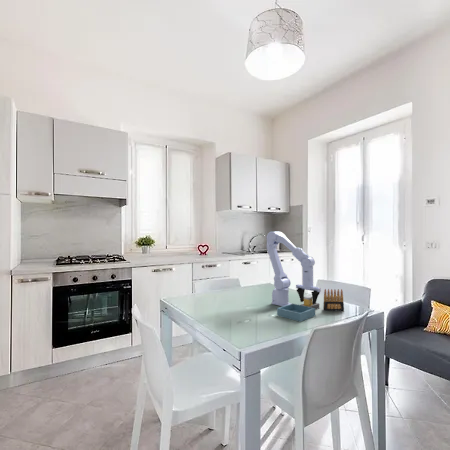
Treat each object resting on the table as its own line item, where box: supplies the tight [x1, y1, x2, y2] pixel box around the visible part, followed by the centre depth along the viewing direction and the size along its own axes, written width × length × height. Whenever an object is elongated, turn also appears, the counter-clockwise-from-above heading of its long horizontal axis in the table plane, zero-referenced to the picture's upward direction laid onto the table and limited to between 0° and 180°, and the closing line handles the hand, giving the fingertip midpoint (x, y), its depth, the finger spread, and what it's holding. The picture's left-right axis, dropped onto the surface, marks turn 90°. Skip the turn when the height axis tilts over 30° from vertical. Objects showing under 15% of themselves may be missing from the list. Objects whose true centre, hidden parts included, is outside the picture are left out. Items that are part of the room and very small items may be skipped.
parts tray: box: [276, 303, 316, 323], centre depth 151 cm, size 14×14×4 cm
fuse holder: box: [300, 301, 320, 310], centre depth 162 cm, size 6×14×3 cm, turn 133°
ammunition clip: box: [323, 288, 345, 312], centre depth 160 cm, size 11×2×12 cm, turn 85°
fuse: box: [303, 295, 313, 306], centre depth 163 cm, size 3×4×7 cm
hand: (308, 302), depth 163 cm, fingers open, 7 cm apart
